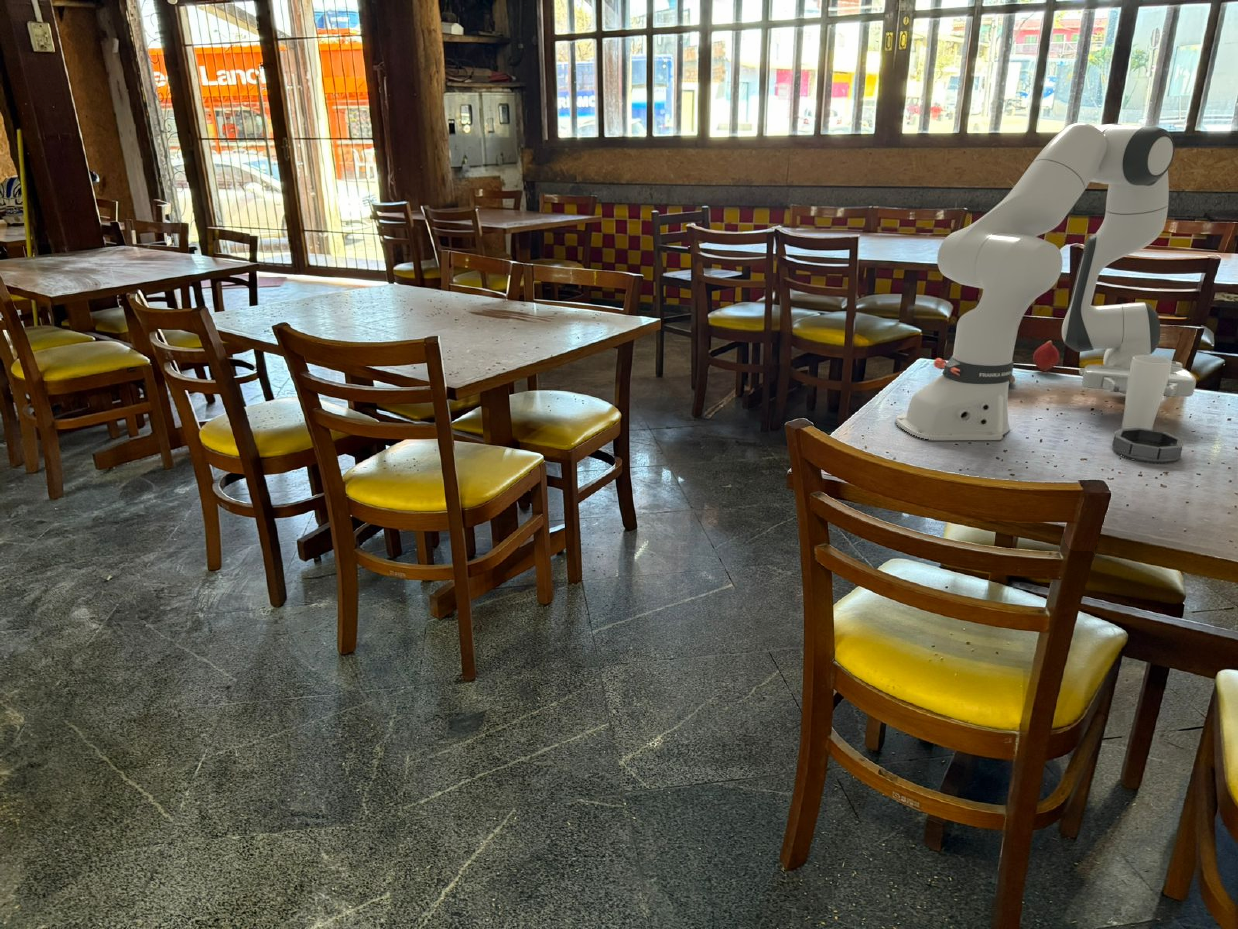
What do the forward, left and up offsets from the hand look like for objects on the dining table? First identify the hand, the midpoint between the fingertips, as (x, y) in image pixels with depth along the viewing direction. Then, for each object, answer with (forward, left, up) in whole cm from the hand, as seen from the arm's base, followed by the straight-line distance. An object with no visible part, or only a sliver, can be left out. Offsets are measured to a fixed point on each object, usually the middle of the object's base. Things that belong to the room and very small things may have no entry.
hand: (1142, 390), depth 169 cm
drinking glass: (-1, -2, -8) cm, 8 cm away
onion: (+9, +42, -8) cm, 44 cm away
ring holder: (-8, -13, -8) cm, 17 cm away
